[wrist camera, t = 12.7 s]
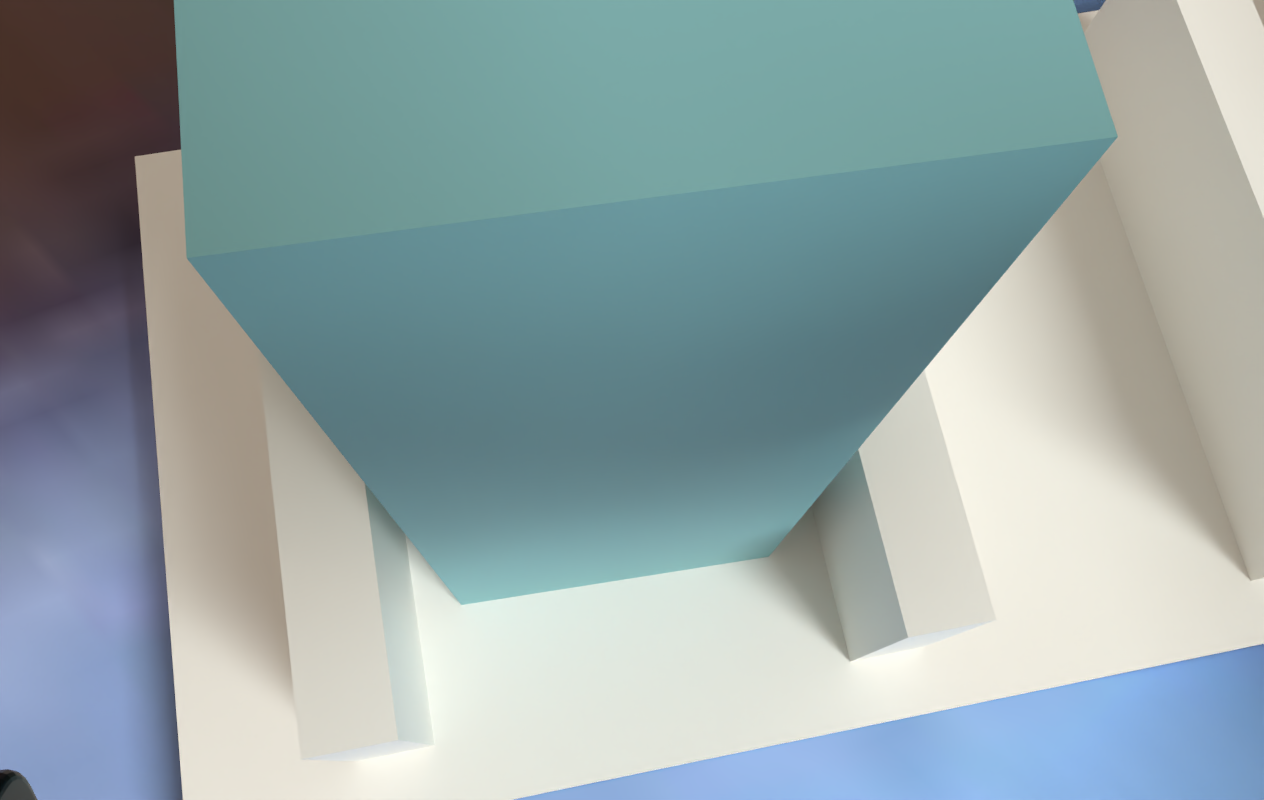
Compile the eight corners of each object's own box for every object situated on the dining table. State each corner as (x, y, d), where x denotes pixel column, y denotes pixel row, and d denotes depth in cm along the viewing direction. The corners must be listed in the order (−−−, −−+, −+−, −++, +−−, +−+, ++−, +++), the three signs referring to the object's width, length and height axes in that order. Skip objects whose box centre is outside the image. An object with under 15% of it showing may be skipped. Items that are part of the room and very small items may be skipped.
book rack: (1632, 566, 20) (2568, 383, 11) (209, 861, 18) (-227, 966, 8) (1370, -4, 24) (1895, -525, 14) (155, 183, 21) (-195, -285, 12)
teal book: (768, 556, 19) (1116, 136, 6) (461, 605, 18) (185, 257, 6) (707, 251, 20) (889, -561, 8) (424, 289, 20) (148, -503, 8)
